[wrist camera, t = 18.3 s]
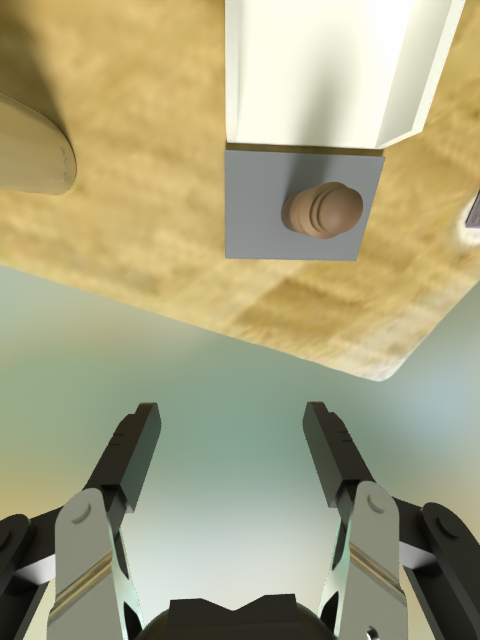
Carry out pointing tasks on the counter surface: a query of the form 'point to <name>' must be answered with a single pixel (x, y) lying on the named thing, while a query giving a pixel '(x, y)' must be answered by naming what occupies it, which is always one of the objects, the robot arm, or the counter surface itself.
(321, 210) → the pepper mill
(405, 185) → the counter surface
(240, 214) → the serving board
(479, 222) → the cake pan box
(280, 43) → the cubby
